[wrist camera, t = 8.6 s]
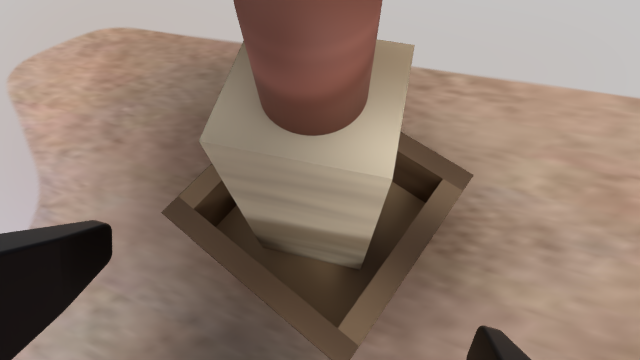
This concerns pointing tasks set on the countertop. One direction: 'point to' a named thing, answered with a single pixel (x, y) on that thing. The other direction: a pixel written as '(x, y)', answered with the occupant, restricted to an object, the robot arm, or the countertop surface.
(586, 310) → the countertop surface
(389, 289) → the cradle jig
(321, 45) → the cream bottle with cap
